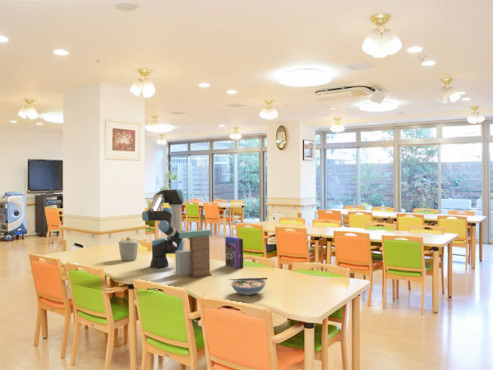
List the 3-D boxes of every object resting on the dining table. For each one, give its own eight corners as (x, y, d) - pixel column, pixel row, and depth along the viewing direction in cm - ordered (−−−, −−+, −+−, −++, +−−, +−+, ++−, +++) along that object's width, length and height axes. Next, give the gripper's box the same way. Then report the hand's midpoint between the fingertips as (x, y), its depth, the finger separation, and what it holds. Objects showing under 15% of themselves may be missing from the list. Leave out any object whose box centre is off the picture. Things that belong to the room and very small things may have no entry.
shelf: (175, 273, 313) (175, 250, 312) (199, 270, 323) (199, 248, 323) (179, 276, 306) (179, 252, 306) (203, 272, 316) (203, 249, 316)
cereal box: (225, 265, 341) (225, 237, 340) (230, 264, 344) (229, 236, 343) (238, 268, 328) (238, 239, 327) (243, 267, 331) (242, 238, 330)
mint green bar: (179, 237, 300) (178, 232, 299) (208, 235, 312) (208, 229, 312) (181, 238, 296) (180, 232, 296) (210, 235, 308) (210, 230, 308)
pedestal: (188, 275, 306) (187, 236, 306) (206, 273, 314) (205, 234, 313) (193, 278, 299) (192, 237, 298) (211, 275, 306) (210, 236, 306)
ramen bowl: (227, 299, 246) (227, 286, 246) (229, 289, 269) (229, 276, 269) (269, 299, 246) (268, 285, 246) (266, 288, 269) (266, 276, 269)
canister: (120, 263, 356) (120, 239, 355) (116, 259, 371) (116, 236, 371) (141, 260, 364) (141, 237, 364) (136, 257, 380) (135, 235, 380)
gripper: (157, 242, 310) (170, 251, 327) (186, 231, 306) (198, 242, 324) (156, 233, 314) (169, 243, 332) (185, 223, 310) (197, 233, 328)
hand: (183, 242), depth 328 cm, fingers open, 13 cm apart
